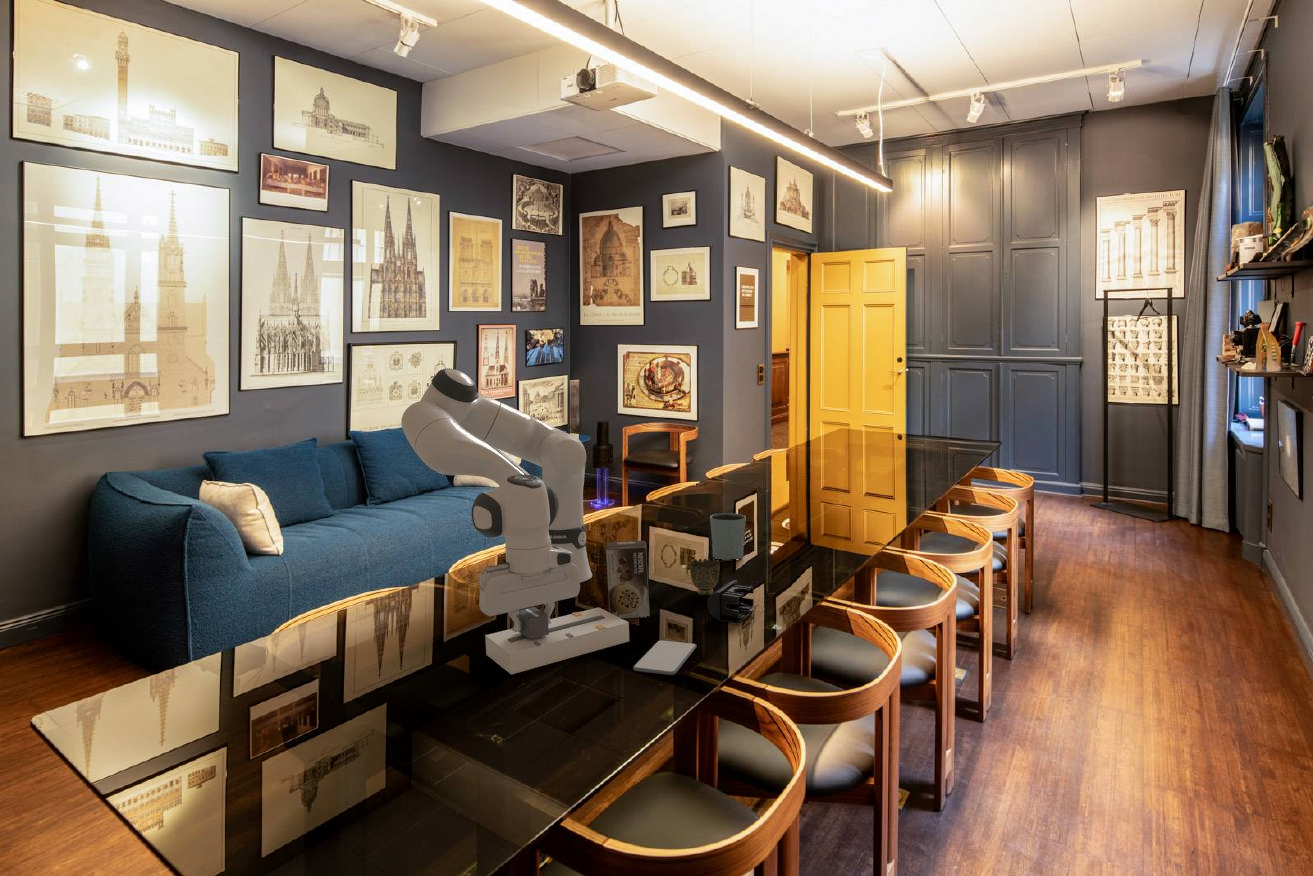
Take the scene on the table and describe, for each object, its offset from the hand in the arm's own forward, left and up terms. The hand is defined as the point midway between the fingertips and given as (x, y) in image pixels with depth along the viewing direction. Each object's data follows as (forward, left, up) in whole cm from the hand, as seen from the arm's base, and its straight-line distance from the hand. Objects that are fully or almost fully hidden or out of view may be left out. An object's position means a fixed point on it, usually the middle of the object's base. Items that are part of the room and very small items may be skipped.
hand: (532, 627), depth 150 cm
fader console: (+3, +5, -6) cm, 8 cm away
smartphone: (+25, +8, -6) cm, 27 cm away
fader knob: (0, 0, -1) cm, 1 cm away
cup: (+18, +47, -6) cm, 50 cm away
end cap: (+29, +35, -6) cm, 46 cm away
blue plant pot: (+12, +80, -6) cm, 81 cm away
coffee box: (+7, +28, -6) cm, 29 cm away
